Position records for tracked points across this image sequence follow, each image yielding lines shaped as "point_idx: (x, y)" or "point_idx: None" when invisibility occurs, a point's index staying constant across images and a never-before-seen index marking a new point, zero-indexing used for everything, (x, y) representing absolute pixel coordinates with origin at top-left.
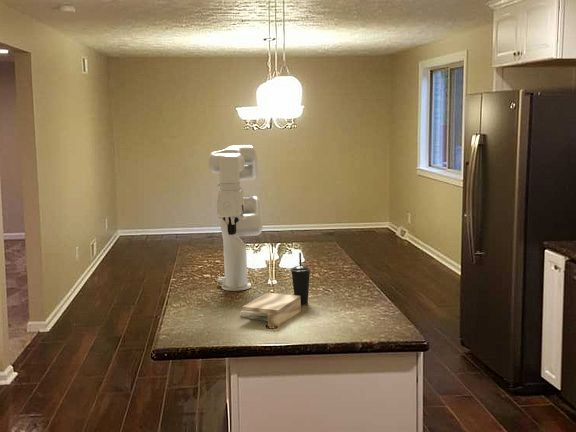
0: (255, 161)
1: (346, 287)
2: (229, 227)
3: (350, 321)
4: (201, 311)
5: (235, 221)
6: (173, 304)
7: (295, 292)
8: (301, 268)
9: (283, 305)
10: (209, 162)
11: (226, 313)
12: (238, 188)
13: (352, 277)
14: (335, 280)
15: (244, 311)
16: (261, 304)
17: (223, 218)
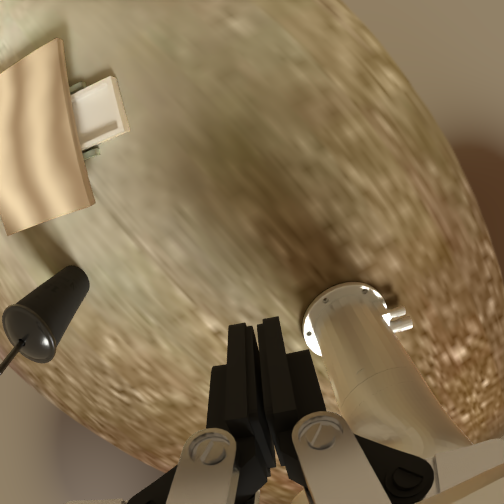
0: None
1: (111, 415)
2: (268, 382)
3: None
4: (267, 51)
5: (175, 483)
6: (399, 80)
7: (59, 279)
8: (8, 325)
9: None
10: None
11: (177, 76)
12: None
13: (160, 460)
14: (169, 443)
15: (99, 84)
16: (24, 93)
17: (425, 474)
